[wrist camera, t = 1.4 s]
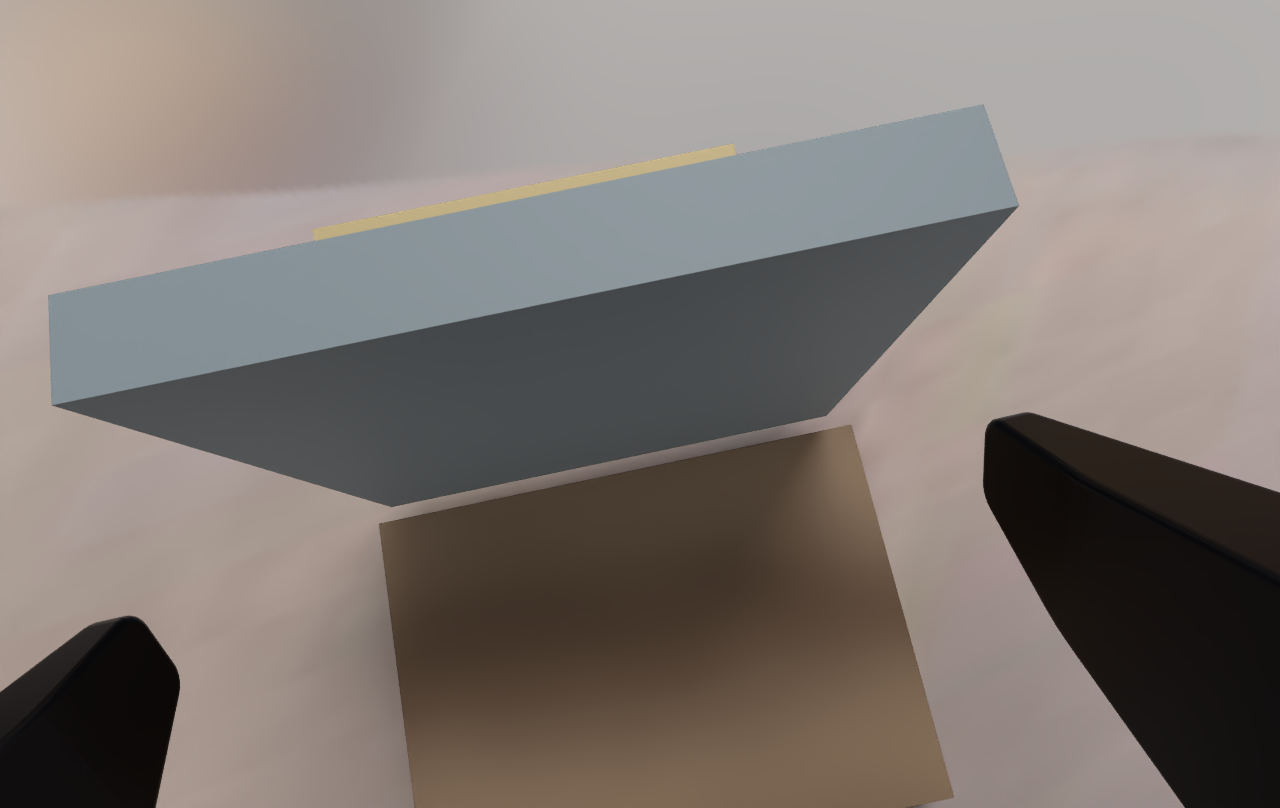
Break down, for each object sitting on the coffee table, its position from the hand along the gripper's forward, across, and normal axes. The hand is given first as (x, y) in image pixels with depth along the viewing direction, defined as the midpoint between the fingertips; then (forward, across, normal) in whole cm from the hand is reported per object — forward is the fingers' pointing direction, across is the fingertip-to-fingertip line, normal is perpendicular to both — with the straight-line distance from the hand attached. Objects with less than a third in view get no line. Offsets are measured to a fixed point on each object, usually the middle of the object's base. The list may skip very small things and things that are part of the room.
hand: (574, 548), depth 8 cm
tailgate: (+9, 0, +4) cm, 10 cm away
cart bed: (+7, 0, +9) cm, 12 cm away
